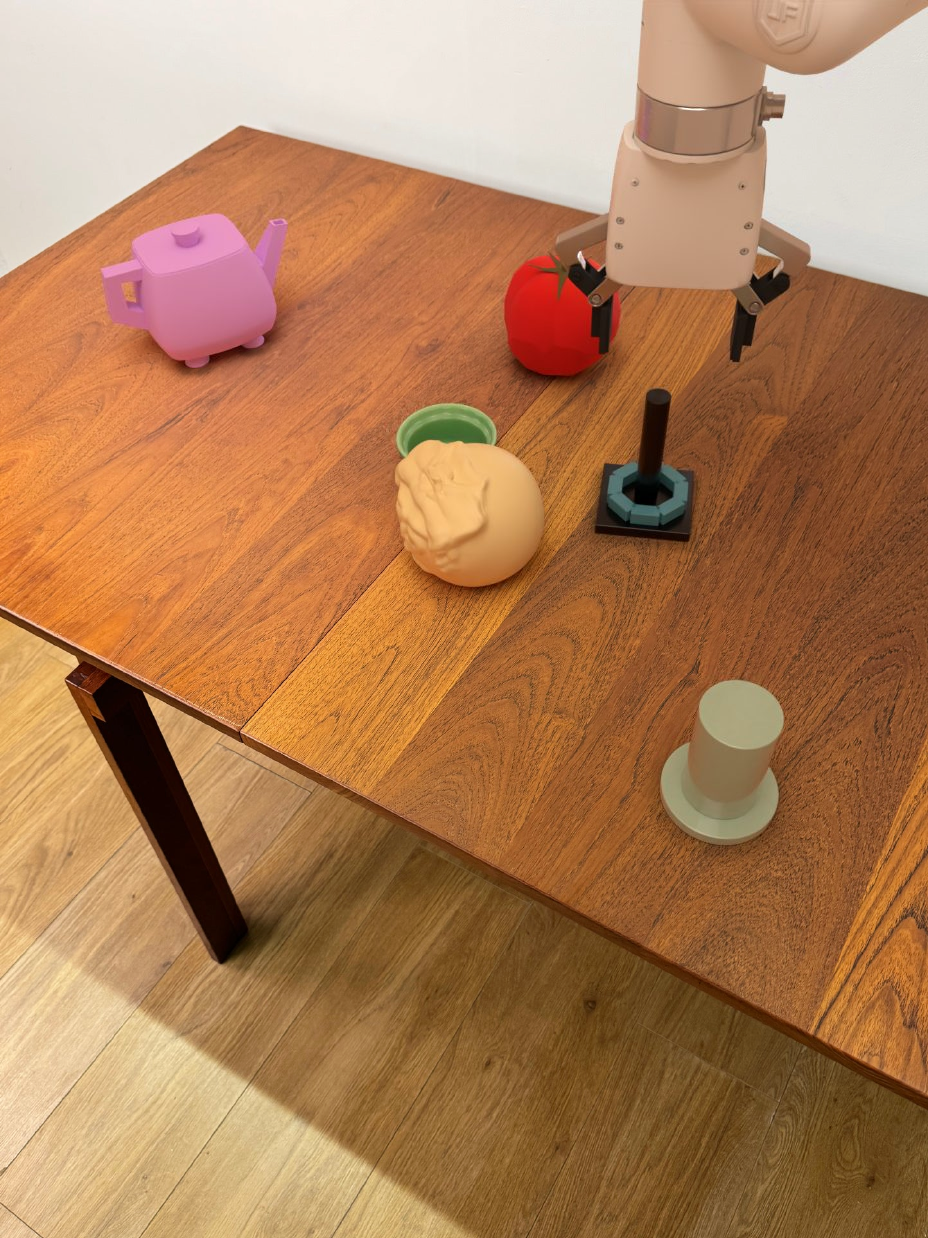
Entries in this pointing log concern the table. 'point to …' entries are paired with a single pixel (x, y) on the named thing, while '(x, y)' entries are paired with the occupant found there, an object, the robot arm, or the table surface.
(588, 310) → the tomato
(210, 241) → the teapot
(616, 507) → the ring
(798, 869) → the table surface
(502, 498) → the sculpture
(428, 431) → the ramekin
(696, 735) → the ring stand
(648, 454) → the black peg stand
